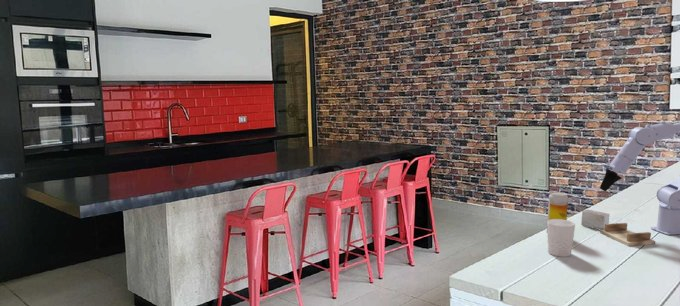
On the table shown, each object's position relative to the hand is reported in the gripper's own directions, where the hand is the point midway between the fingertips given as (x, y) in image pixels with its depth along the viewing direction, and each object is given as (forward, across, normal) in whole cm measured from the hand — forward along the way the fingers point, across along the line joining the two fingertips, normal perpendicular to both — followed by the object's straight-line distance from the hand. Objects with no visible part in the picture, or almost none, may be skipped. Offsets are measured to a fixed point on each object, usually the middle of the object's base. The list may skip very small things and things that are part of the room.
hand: (602, 189), depth 188 cm
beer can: (+22, +11, -3) cm, 25 cm away
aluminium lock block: (+13, -6, +5) cm, 15 cm away
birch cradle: (+10, +4, +15) cm, 18 cm away
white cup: (+24, +29, +1) cm, 38 cm away
